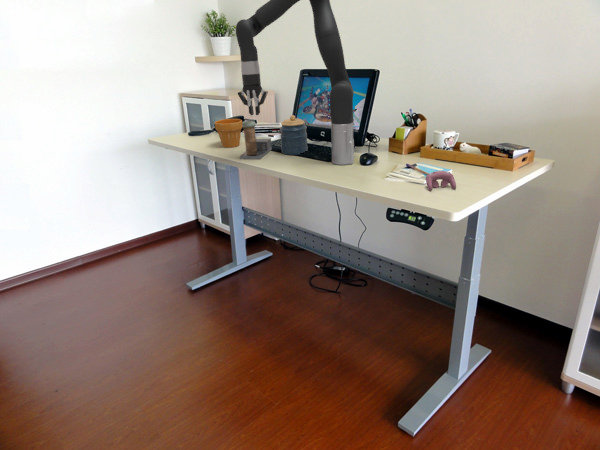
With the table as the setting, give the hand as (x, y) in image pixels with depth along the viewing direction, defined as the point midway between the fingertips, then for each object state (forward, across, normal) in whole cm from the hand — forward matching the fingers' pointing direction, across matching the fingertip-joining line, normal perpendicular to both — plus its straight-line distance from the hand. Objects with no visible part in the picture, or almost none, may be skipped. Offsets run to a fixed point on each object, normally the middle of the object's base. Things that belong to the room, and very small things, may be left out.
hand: (254, 114), depth 180 cm
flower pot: (+21, +26, -29) cm, 44 cm away
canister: (+21, -12, -18) cm, 30 cm away
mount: (+21, +6, -13) cm, 25 cm away
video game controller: (+21, -77, +28) cm, 85 cm away
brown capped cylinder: (+19, +6, -7) cm, 21 cm away
